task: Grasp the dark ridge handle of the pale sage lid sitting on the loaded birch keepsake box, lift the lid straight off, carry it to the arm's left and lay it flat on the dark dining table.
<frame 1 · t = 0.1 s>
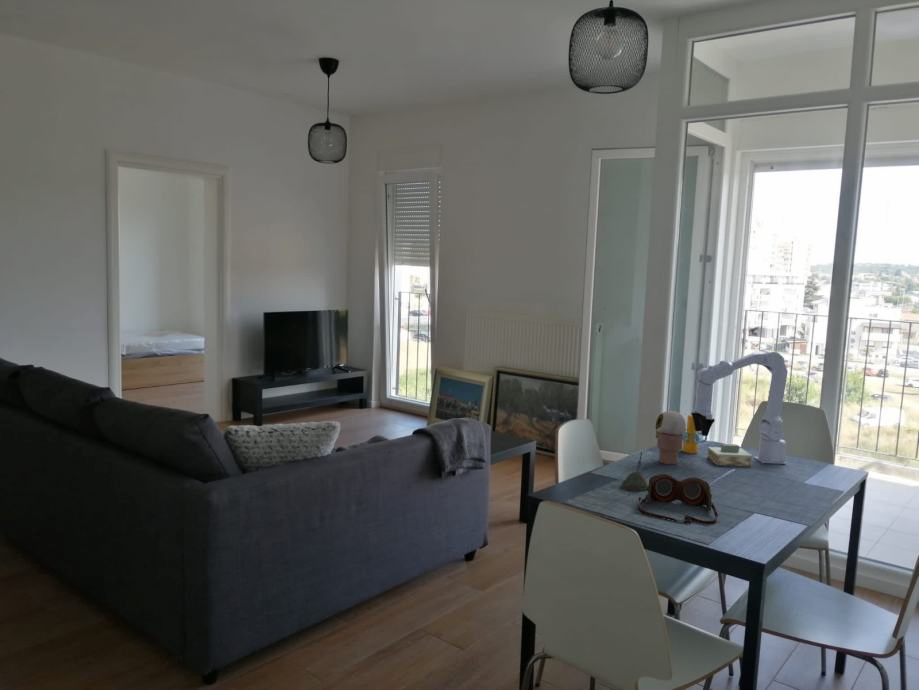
hand: (701, 433, 280), 10 cm above the table, fingers open, 7 cm apart
sword in stone: (635, 489, 239), on the table
crate: (728, 461, 277), on the table
yellow post with rings: (689, 452, 290), on the table
goggles: (674, 511, 219), on the table
ice cream cone: (667, 462, 273), on the table
lid: (729, 453, 277), point 3 cm above the table, touching crate
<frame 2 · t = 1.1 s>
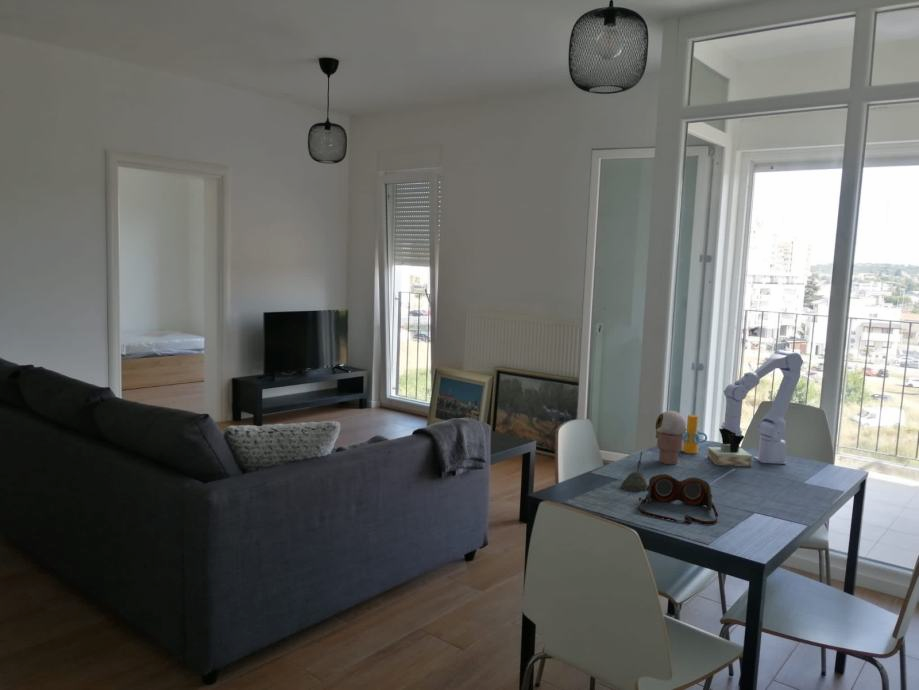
hand: (729, 449, 277), 5 cm above the table, fingers open, 7 cm apart
nothing on the table moved.
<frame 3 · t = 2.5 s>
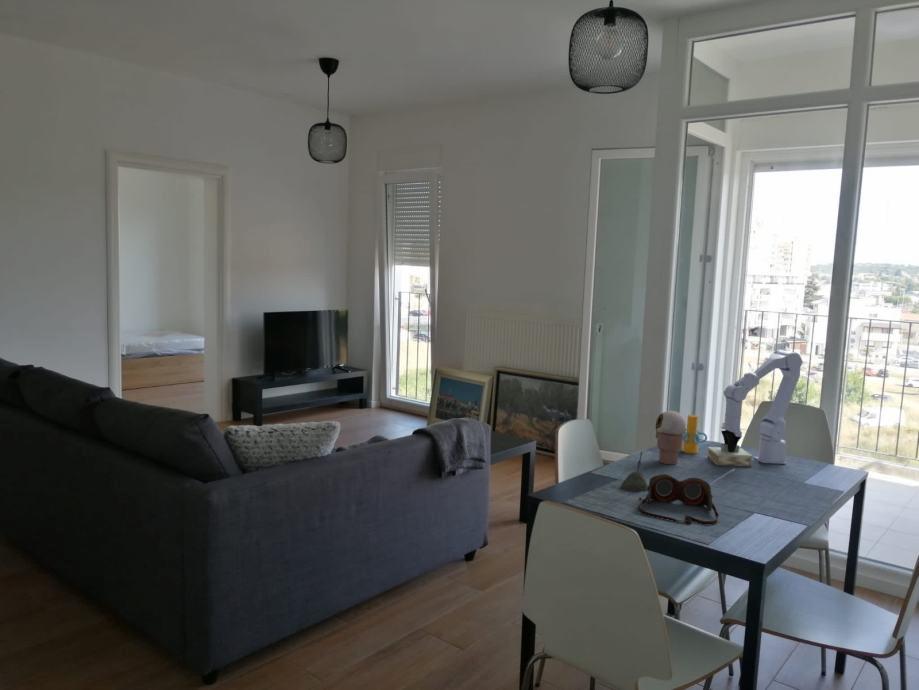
hand: (729, 450, 277), 5 cm above the table, fingers closed on lid, 2 cm apart
lid: (729, 453, 277), point 3 cm above the table, touching crate, gripper
everything else where it was.
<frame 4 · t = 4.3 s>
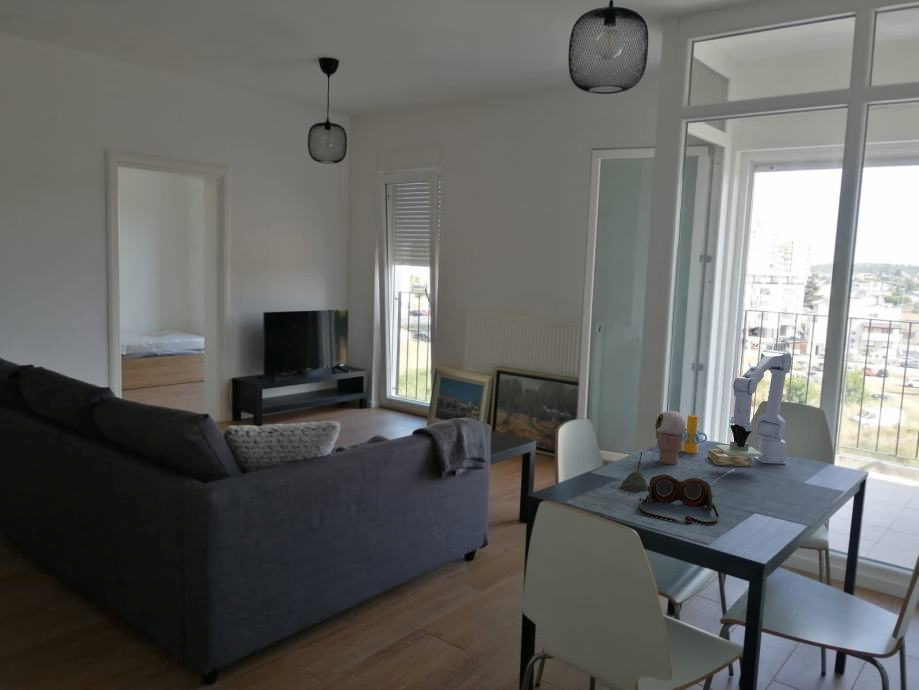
hand: (739, 445, 263), 10 cm above the table, fingers closed on lid, 2 cm apart
lid: (738, 451, 263), point 8 cm above the table, touching gripper
everything else where it was.
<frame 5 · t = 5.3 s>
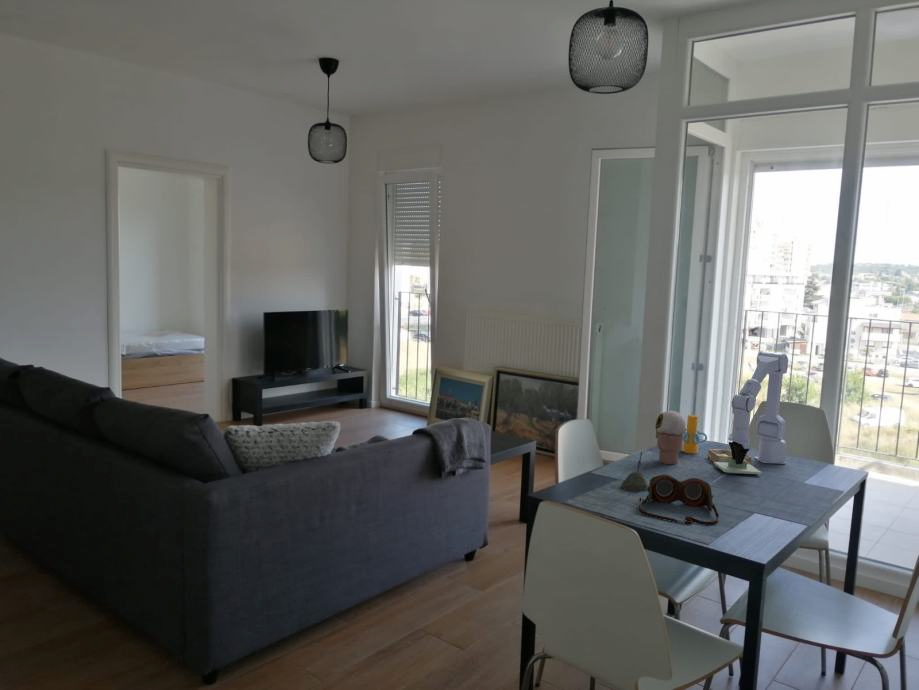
hand: (737, 462, 264), 3 cm above the table, fingers closed on lid, 2 cm apart
lid: (737, 468, 264), point 1 cm above the table, touching gripper
everything else where it was.
when the fingers open (2 cm above the table, at t = 6.2 s): lid stays where it is, on the table.
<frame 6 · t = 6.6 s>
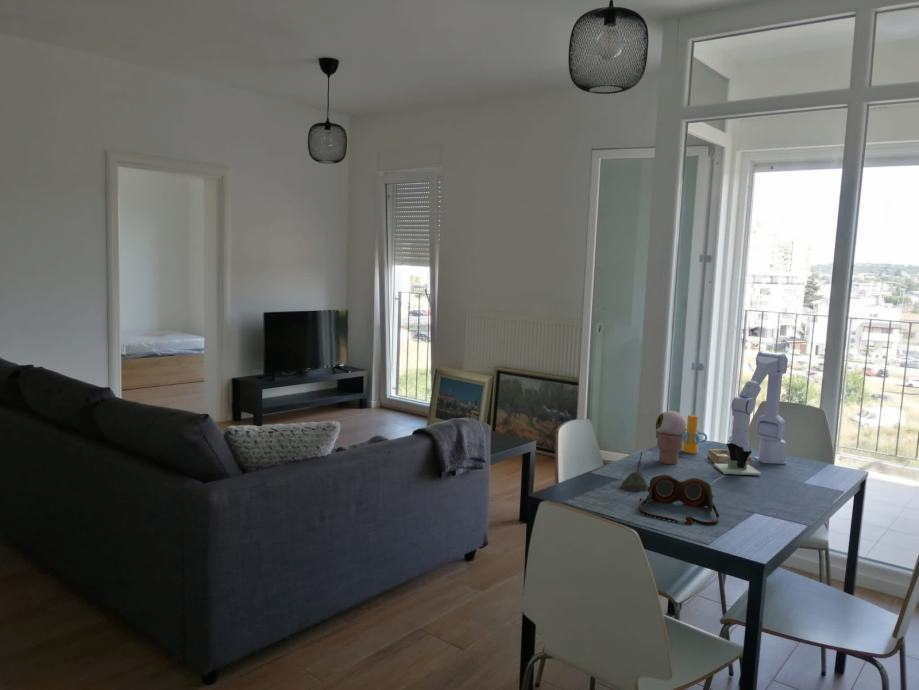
hand: (737, 465, 264), 2 cm above the table, fingers open, 6 cm apart
lid: (736, 470, 264), on the table
everything else where it was.
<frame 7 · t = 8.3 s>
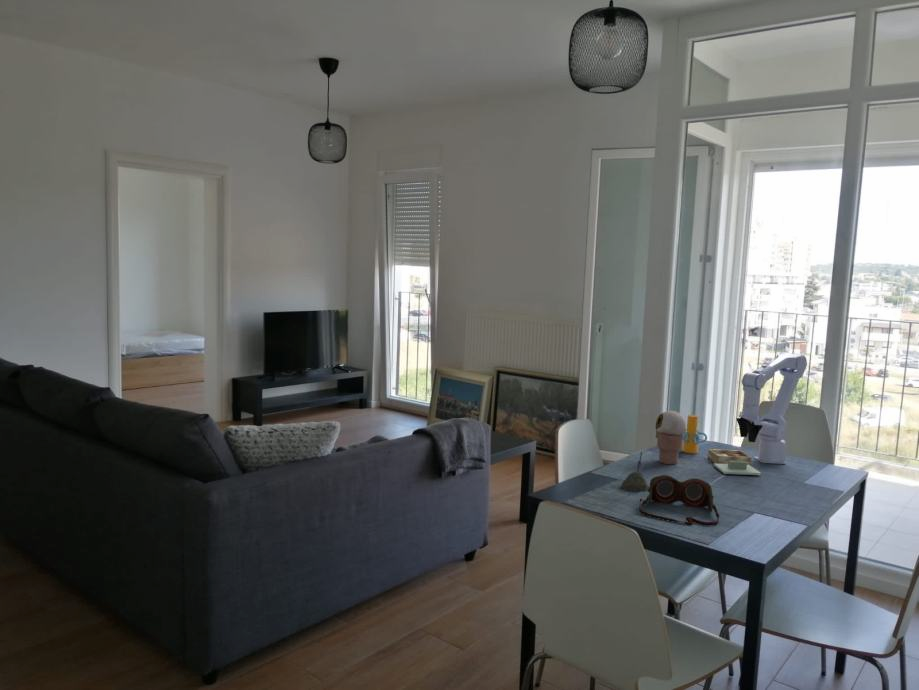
hand: (747, 439, 272), 10 cm above the table, fingers open, 7 cm apart
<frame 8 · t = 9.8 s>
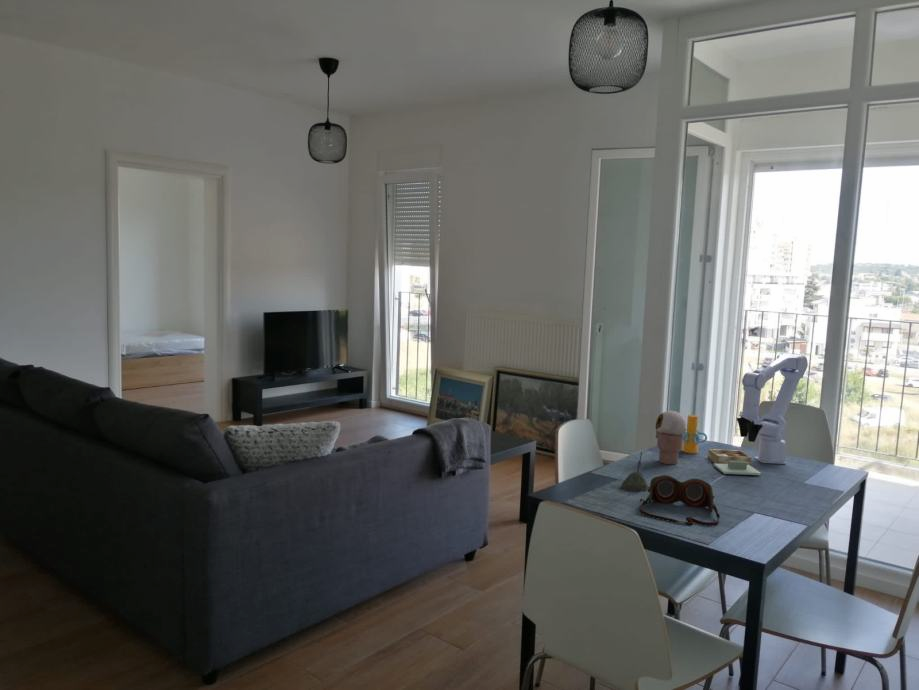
hand: (747, 439, 272), 10 cm above the table, fingers open, 7 cm apart
at the end: lid inside the target area (0.0 cm from its centre), point 0.5 cm above the table; lid tilted 0°; lid touching table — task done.
